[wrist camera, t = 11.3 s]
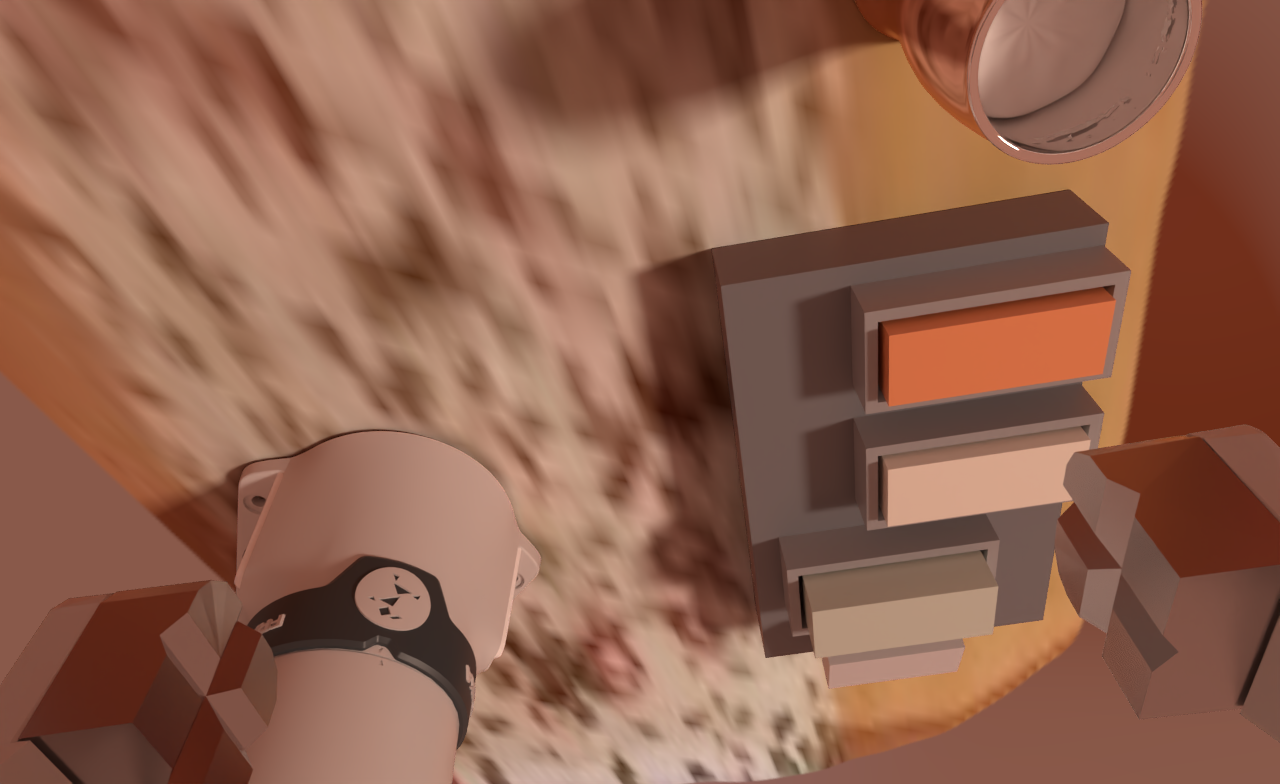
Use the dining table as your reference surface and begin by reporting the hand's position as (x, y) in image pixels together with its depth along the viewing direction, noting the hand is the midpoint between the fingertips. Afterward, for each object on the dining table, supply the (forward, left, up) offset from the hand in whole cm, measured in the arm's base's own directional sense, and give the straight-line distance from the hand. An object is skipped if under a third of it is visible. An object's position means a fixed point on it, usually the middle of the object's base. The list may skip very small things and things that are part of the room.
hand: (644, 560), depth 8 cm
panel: (-16, -26, -34) cm, 46 cm away
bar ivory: (-12, -27, -30) cm, 42 cm away
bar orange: (-6, -22, -30) cm, 38 cm away
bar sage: (-21, -28, -28) cm, 45 cm away
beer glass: (+6, -12, -34) cm, 37 cm away
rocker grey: (-26, -32, -28) cm, 50 cm away
